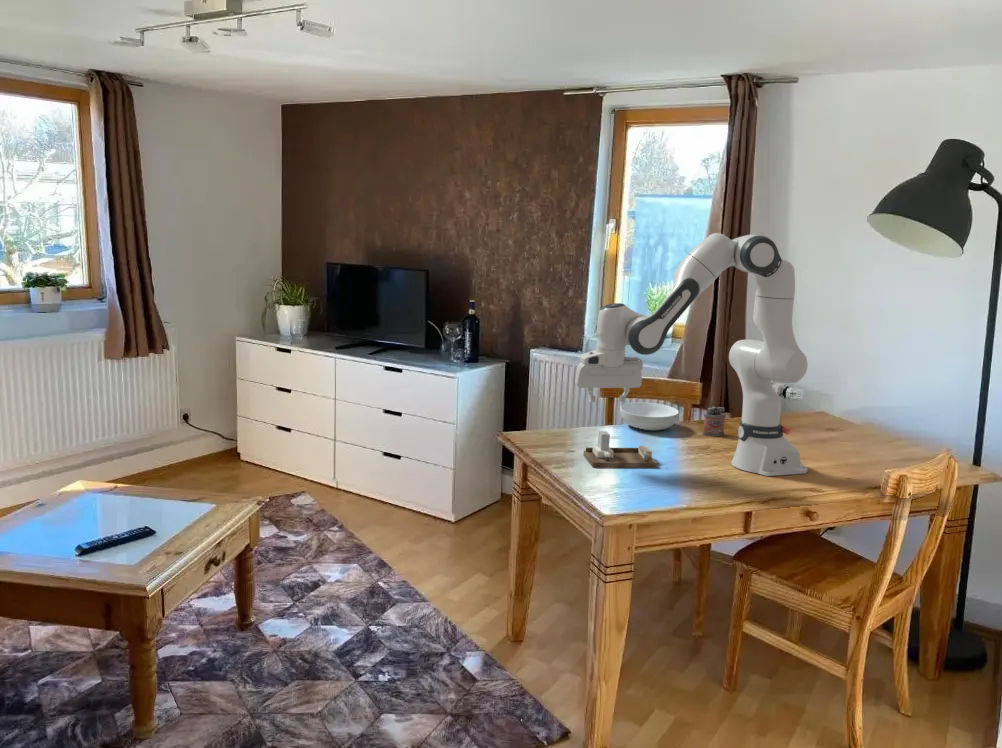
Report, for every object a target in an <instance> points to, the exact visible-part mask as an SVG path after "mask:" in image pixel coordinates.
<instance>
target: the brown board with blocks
mask: <svg viewBox="0 0 1002 748" xmlns="http://www.w3.org/2000/svg"><path fill="white" fill-rule="evenodd" d="M610 448H611V449H612V450H613V451H614V452H613V458H609V460H606V458H597V457H596V455H595V454H594V453H593V452H592V451H593V447H585V450H583V453H582V454H583V457H584V458H585V459H586V461H587V463H589V465H590V466H591V467H592V468H593V469H594V468H596V469H597V468H600V469H601V468H602V469H603V468H604V469H605V468H616V469H617V468H620V469H621V468H633V469H635V468H637V469H638V468H642V469H643V468H645V469H646V468H647V469H648V468H650V469H652V468H657V467H658V462H657V461H656V460H655V459H654V458H653V455H652V454H653V451H652V450H651V449H650V448H649V447H648V445H638V447H610Z"/></svg>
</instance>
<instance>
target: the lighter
mask: <svg viewBox="0 0 1002 748" xmlns="http://www.w3.org/2000/svg"><path fill="white" fill-rule="evenodd" d="M723 412H725V407H723V406H722V407H720V406H718V407H715V406H712V407H708V408H707V412H706V413H703V417H704V418H703V419H704V420H703V427H702V433H701V436H705V437H707V436H708V437H720V436H725V423H726V422H725V421H726V417H727V414H726V413H723Z"/></svg>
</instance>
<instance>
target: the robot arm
mask: <svg viewBox="0 0 1002 748" xmlns="http://www.w3.org/2000/svg"><path fill="white" fill-rule="evenodd" d="M731 267H732V268H734V269H736V270H739V271H741V272H744V273H750V274H751V273H752V274H754V277H755V281H756V288H755V295H754V303H753V312H752V321H753V324H754V325H755V327H756V328H757V329H758V330H759V331H760V332H761V336H762V337H763V338H762V339H763V340H757V339H751V338H750V339H740V340H737V341H735V343H733V345H732V346H731V348H730V349H729V353H728V360H729V364H730V366H731V367H732V368H733V370H734V371H735V372H736V374H737V377H738V379H739V382H740V386H741V390H742V408H741V410H742V411H741V419H740V420H739V426H738V430H737V431H738V432H737V433H738V435H737V438H738V441H737V446H736V449H735V452H734V454H733V458H732V460H731V463H730V464H731V465H732V466H733V467H734V468H736V469H739V470H742V471H745V472H749V473H755V474H759V475H761V476H767V477H775V476H776V477H777V476H787V475H801V474H807V473H808V468H807V466H806V465H804V464H803V463H802V462H801V454H800V451H799V449H798V448H797V447H796V446H795V445H793V444H792V442H791V441H789V440H788V439H787V438H786V437H785V436H784V434H785V435H789V434H790V433H791V428H789V427H788V426H784V425H782V424H781V423H780V417H781V409H782V399H781V396H780V395H779V394H778V393H777V392H776V391H775V389H774V388H773V385H772V382H775V383H776V382H777V383H782V384H784V383H785V384H789V383H792V384H793V383H798V382H800V381H801V380H802V379H803V378H804V376H806V373H807V370H808V363H809V362H808V357H807V356H806V354H805V353H804V352H803V351H802V350H801V348H800V347H799V345H798V343H797V341H796V338H795V335H794V331H793V315H794V314H793V311H794V303H795V302H794V301H795V292H796V276H795V275H796V274H795V268H794V265H793V264H792V263H791V262H790V261H788V260H786V259H782V257H781V255H780V253H779V249H778V247H777V245H776V243H775V242H774V241H773V240H772V239H771V238H769V237H768V236H765V235H760V234H751V233H750V234H743V235H742V234H741V235H738V236H735V237H733V238H730V237H728V236H726V235H725V234H723V233H719V232H714V233H711V234H709V235H708V236H707V237H705V238H704V239H703V240H701V242H699V243H697V245H696V246H694V247H693V248H692V249H691V250H690V251H689V253H687V255H686V256H685V257H684V258H683V259H682V260H681V261H680V263H679V264H678V266H677V267H676V269H675V270H674V273H673V285H672V289H671V291H670V293H669V294H668V296H667V297H666V298H665V300H664V301H662V303H661V304H660V305H659V306H658V307H657V308H656V310H655V311H654V312H653V314H651V315H650V316H647V315H645V314H642V313H639V312H636V311H635V310H633V309H631V308H630V307H628V306H627V305H626V304H624V303H621V302H620V303H619V302H617V303H610V304H605V305H603V306H602V307H601V308H600V309H599V313H598V316H597V317H598V318H597V323H596V325H597V326H596V336H597V341H596V344H595V349H593V350H591V351H587V352H585V353H581V354H580V355H579V359H580V362H579V363H578V364H577V366H576V371H575V379H574V383H575V385H576V386H577V388H581V389H582V388H585V389H586V392H587V394H588V395H589V399H588V400H589V401H588V402H590V403H595V402H596V395H595V394H593V393H592V391H593V389H594V388H595V389H597V388H598V389H599V388H600V389H601V388H602V389H603V388H604V389H607V388H608V389H612V388H613V389H617V388H618V389H621V388H622V389H623V390H624V391H623V393H622V394H620V395H619V402H621V403H622V402H623V403H625V402H626V399H627V398H626V397H627V396H628V394H629V393H630V392H631V391H630V390H631V389H635V388H636V389H637V388H640V387H641V386H642V383H643V377H642V374H643V373H642V370H643V367H644V365H643V364H644V363H643V362H644V361H642V359H641V358H639V357H637V356H636V357H635V356H634V357H631V356H629V357H628V356H626V347H627V346H630V347H631V349H632V350H633V351H634V352H635V353H636V354H640V355H645V356H647V355H648V356H649V355H652V354H654V353H656V352H658V351H659V350H660V349H661V348H662V346H663V344H664V342H665V339H666V337H667V334H668V332H669V330H670V329H671V328H672V326H673V325H675V323H676V321H678V320H679V318H680V317H681V316H682V315H683V314H684V312H685V311H686V310H687V309H688V308H689V307H690V305H691V304H692V303H693V302H694V301H695V300H696V299H697V298H698V297H699V296H700V295H702V293H703V292H704V291H705V290H706V289H708V288H709V287H710V286H711V285H712V284H713V283H714V281H715V280H716V279H718V277H720V275H721V274H722V273H723V271H726V270H727V269H728V268H731ZM771 381H772V382H771Z"/></svg>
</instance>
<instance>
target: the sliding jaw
mask: <svg viewBox="0 0 1002 748" xmlns="http://www.w3.org/2000/svg"><path fill="white" fill-rule="evenodd" d="M597 433H598V437H597V445H592V448H593V451H592V452H593V453H594V454H595V455H596V457H597V458H606V460H609V458H613V452H614V451H613V450H612V449H611V448H612V447H610V437H611V436H610V435H611V434H610V433H609V432H608V431H607V430H599V431H598V432H597Z"/></svg>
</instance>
